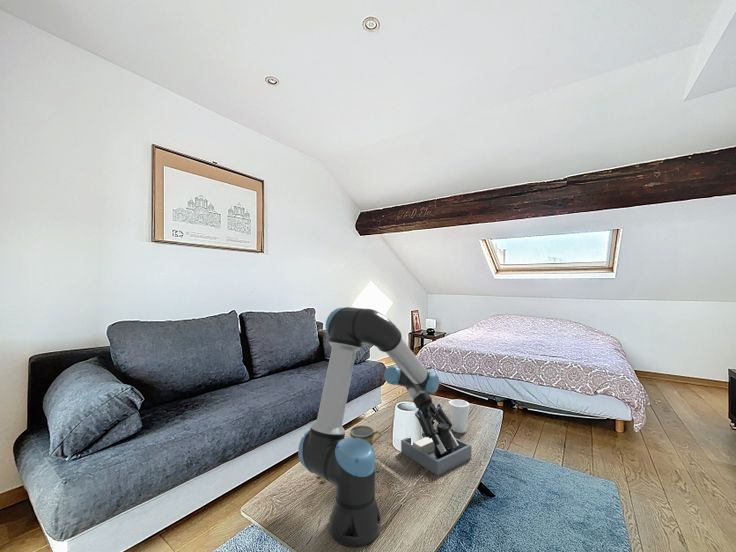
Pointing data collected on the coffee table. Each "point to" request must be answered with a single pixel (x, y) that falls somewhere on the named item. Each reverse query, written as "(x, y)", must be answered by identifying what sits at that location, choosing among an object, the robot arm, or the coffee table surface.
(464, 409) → the foam cup
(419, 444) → the cream rectangular block
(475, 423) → the coffee table surface
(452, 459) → the tote
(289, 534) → the coffee table surface
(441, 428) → the supplement bottle
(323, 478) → the dice set
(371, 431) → the ceramic cup
